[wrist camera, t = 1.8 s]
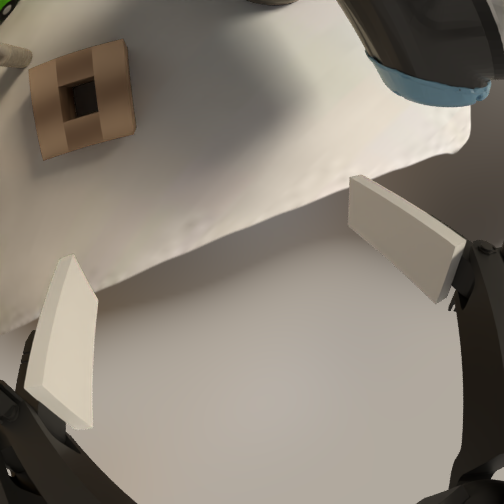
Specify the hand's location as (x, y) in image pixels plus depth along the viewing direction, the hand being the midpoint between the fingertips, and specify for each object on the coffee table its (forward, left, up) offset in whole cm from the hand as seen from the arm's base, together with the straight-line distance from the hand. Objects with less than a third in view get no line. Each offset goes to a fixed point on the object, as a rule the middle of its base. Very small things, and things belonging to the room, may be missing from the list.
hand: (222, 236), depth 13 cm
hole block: (-8, -9, -24) cm, 27 cm away
